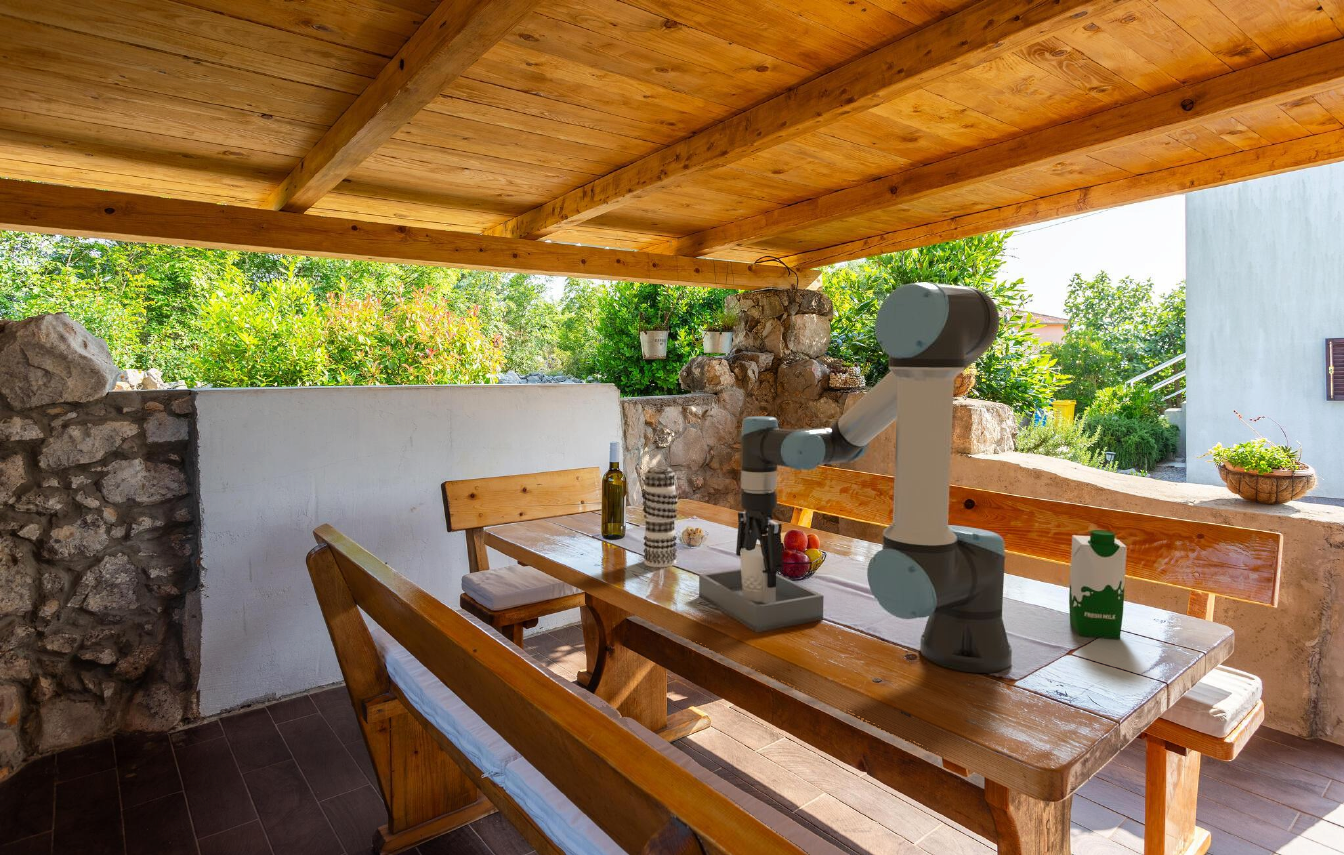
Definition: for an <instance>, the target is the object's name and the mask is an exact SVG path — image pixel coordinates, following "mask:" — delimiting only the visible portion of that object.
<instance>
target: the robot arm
mask: <svg viewBox="0 0 1344 855" xmlns="http://www.w3.org/2000/svg"><path fill="white" fill-rule="evenodd" d="M999 315H1000V314H999V310H998V308H997V306H996V303H995V302H994V300H993V299H992V298H991V297H990V296H989V295H988V294H987V293H985V292H984V291H983V290H981V289H979V288H976V287H972V286H967V285H952V284H945V283H944V284H943V283H935V282H926V281H924V282H914V283H907V284H904V285H901V286H899V287H897V288H896V289H894V290H893V291H891V292H890V293H889V295H888V296H887V298H885V299H884V300H883V302H882V303H881V305H880V307H879V309H878V311H877V314H876V318H875V323H874V333H875V338H876V341H877V343H878V344H879V345H880V347H881V349H882V351H883V352H884V353H885V354H887V355H888V370H890V371H889V372H888V373H886V375H885V376H884V377H883V378H882V379H881V380H880V381H878V382H877V383H876V384H875V385H874V386H873V387H872V388H870V390H869V391H867V392H866V393H865V394H864V395H863V396H861V398H859V400H857V401H856V403H855V404H853V405H852V406H851V407H850V408H849V409H848V410H847V411H846V412H845V413H843V415H842V416H841V417H840V418H838V419H837V420H836V421H835V422H834V423H833V424H831V425H830V426H827V427H825V426H824V427H817V428H815V427H814V428H800V429H788V428H787V429H786V428H779V425H778V419H777V417H774V416H764V415H763V416H761V415H760V416H747V417H745V418H744V419H743V420H742V423H741V433H740V434H741V435H740V442H741V444H740V445H741V446H740V447H741V448H740V449H741V452H740V453H741V454H740V456H741V463H740V464H741V465H740V466H741V469H740V470H741V471H740V475H741V476H740V487H741V489H742V491H741V492H740V498H741V500H740V502H741V503H740V506H741V508H742V509H743V510H745V511H739V512H737V521H738V525H737V535H736V536H737V539H736V550H735V554H736V556H738V557H739V558H740V560H741V556H740V550H741V549H743V548H745V549H746V550H748V551H750V550H753V549H755V546H756V545H757V542H758V541H759V545H760V547H761V551H762V556H763V561H764V566H765V570H763V571H762V572H763V603H768V602H774V601H776V572H777V573H778V572H780V571H783V570H784V558H783V547H782V544H783V543H782V527H783V526H782V522H776V521H774V517H773V511H774V510H776V509H777V508H778V492H777V491H776V489H777V488H778V466H779V467H784V468H790V469H794V470H798V471H801V470H804V471H811V470H814V469H816V468H818V466H821V465H830V464H838V463H839V464H840V463H842V464H843V463H844V464H845V463H846V464H847V463H850V462H853V461H857V460H860V459H862V457H864V456H865V455H866V452H867V449H868V447H869V442H871V441H872V440H873V439H874V438H875V437H877V436H878V435H879V434H880V433H882V432H883V431H884V430H885V429H886V428H887V427H888V426H890V425H891V424H892V423H894V422H895V421H896V424H895V425H896V426H895V427H896V430H895V454H894V456H895V457H894V481H893V483H894V484H893V511H892V512H893V513H892V515H893V516H892V522H891V524H889V525H888V526H887V527H886V528H884V529H883V530H882V549H881V550H878V551H877V552H876V553H875V554H874V555H873V557H871V558H870V559H869V561H868V565H867V570H866V574H867V575H866V576H867V582H868V586H869V588H870V591H871V593H872V595H873V597H874V599H876V600H877V601H878V603H879V605H880V606H881V608H882V609H884V611H886V612H887V613H889V615H892V616H894V617H895V618H898V619H902V620H913V619H918V618H920V619H923V618H926V617H927V621H926V624H925V627H924V631H923V632H922V634H921V637H920V647H919V648H920V649H919V650H920V654H921V655H922V656H923V657H924V658H925V659H926V660H928V661H929V662H932V663H933V664H935V665H938V666H939V667H940V666H941V667H943V668H946V669H950V670H954V671H960V672H965V673H974V674H976V673H977V674H986V673H987V674H989V673H996V672H1002V671H1004V670H1006V669H1009V667H1010V666H1011V665H1012V661H1013V660H1012V657H1013V655H1012V654H1013V650H1012V646H1011V644H1010V643H1009V640H1008V636H1007V632H1006V628H1005V624H1004V620H1003V606H1004V605H1003V603H1004V602H1003V601H1004V599H1003V598H1004V581H1005V580H1004V579H1005V559H1006V556H1007V555H1006V553H1005V552H1006V551H1005V541H1004V538H1003V537H1002V535H1000V534H998V533H996V532H994V531H990V530H986V529H982V528H975V527H970V526H969V527H968V526H963V525H953V524H952V525H951V524H949V505H950V503H949V502H950V484H951V483H950V481H951V461H952V460H951V458H952V457H951V456H952V431H953V413H954V410H953V408H954V388H955V387H954V386H955V379H956V378H957V376H959V375H960V374H961V373H962V372H963V371H965V370H967V369H968V368H969V367H970V366H971V365H973V363H975V362H976V361H977V360H978V359H979V358H980V357H982V356H983V355H984V354H985V353H986V352H987V351H988V350H989V349H990V347H991V346H992V345H993V343H994V341H995V340H996V338H997V335H998V333H999V328H1000V316H999ZM742 586H743V585H742Z"/></svg>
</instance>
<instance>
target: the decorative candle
mask: <svg viewBox="0 0 1344 855" xmlns="http://www.w3.org/2000/svg"><path fill="white" fill-rule="evenodd" d="M644 475H645V476H644V481H645V482H644V484H645V485H644V488H643V489H642V490H641V492H642V495H641V498H642V499H643V500H644V501H642V506H643V509H642V512H643V513H644V514H643V520H645V530H644V537H643V540H644V543H643V546H644V548H643V553H644V555H643V559H644V562H643V563H644V565H645V566H648V567H653V568H667V567H671V566H675V565H676V564H677V557H678V556H677V554H676V553H677V551H678V550H677V548H676V546H677V542H676V541H677V536H676V528H675V521H676V520H677V517H678V515H677V514H676V512H677V511H678V509H677V508H676V505H677V504H678V501H677V500H676V499H677V498H678V495H677V494H675V490H676V485H675V476H676V475H677V474H676V472H674V471H673V469H672V468H671V467H668V466H652V467H649V468H648V470H647V472H645V473H644Z"/></svg>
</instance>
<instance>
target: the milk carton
mask: <svg viewBox="0 0 1344 855" xmlns="http://www.w3.org/2000/svg"><path fill="white" fill-rule="evenodd" d="M1115 537H1116V534H1115V532H1112V531H1109V530H1104V529H1103V530H1102V529H1094V530H1093V529H1092V530H1091V531H1090V534H1089V535H1078V534H1077V535H1075V534H1073V535H1071V551H1070V552H1071V553H1070V555H1071V556H1070V568H1069V569H1070V571H1069V572H1070V574H1069V594H1068V596H1069V597H1068V598H1069V599H1068V601H1069V602H1068V603H1069V604H1068V606H1069V607H1068V608H1069V623H1070V625H1071V626H1072V628H1073V629H1074V630H1075V632H1076V634H1077V635H1078V636H1080V637H1088V638H1089V637H1090V638H1102V639H1114V640H1120V639H1121V635H1122V634H1121V633H1122V624H1123V617H1124V604H1125V603H1124V602H1125V601H1124V600H1125V587H1126V586H1125V583H1126V581H1125V580H1126V565H1127V564H1126V562H1127V551H1128V550H1127V549H1128V546H1126V545H1125V544H1124V543H1123V542H1121V540H1120V539H1117V538H1115Z"/></svg>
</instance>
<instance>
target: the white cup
mask: <svg viewBox="0 0 1344 855" xmlns="http://www.w3.org/2000/svg"><path fill="white" fill-rule="evenodd" d="M740 556H741V559H740V569H741V576H742V585H743V586H742V594H743V597H744V598H746V599H748V600H750V601H756V602H763V572H762V571H763V570H765V566H764V561H763V556H762V551H761V546H755V549H753V550H750V551H748V550H746V549H745V548H743V549H741V550H740ZM740 556H739V557H740ZM776 574H778V571H777V572H776Z"/></svg>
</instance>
